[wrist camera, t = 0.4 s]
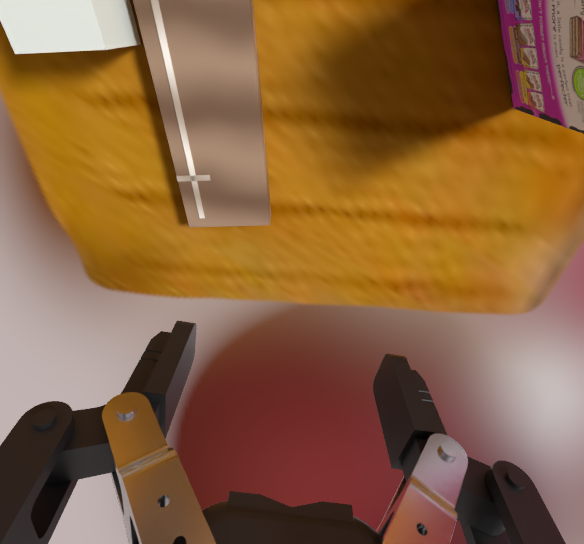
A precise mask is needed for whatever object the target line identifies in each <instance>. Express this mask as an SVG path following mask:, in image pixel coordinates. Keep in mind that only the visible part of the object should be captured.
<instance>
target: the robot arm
mask: <svg viewBox="0 0 584 544" xmlns="http://www.w3.org/2000/svg"><path fill="white" fill-rule="evenodd" d="M195 339H196V324H195V323H189V322H182V321H177V322H176V324H175V326H174V328H173V330H172V332H171V333H169V332H162V331H161V332H160V333H159V334H157V335H156V336H155V337H154V338H152V339H151V341H150V342H149V344H148V346H147V348H146V350H145V352H144V353H143V355H142V357H141V360H140V361H139V363H138V365H137V366H136V368H135V370H134V372H133V373H132V375H131V377H130V379H129V381H128V382H127V384H126V386H125V388H124V390H123V391H122V393H121V394H120V395H117V396H116V397H114V398H112V399H111V400H110V401H109V402H108V403H107V404H106V405H104V406H101V407H97V408H91V409H85V410H77V411H72V409H71V407H70V406H69V405H67V404H66V403H63V402H58V401H52V402H46V403H42V404H40V405H37V406H35V407H33V408H32V409H30V410H29V411H27V412H26V413H25V414H24V415H23V416H22V417H21V418H20V419H19V421H18V422H17V424H16V425H15V426H14V428H13V429H12V430H11V432H10V433H9V435H8V436H7V437H6V439H5V440H4V442H3V443H2V444H1V446H0V544H48V542H49V540H50V538H51V536H52V534H53V532H54V530H55V528H56V525H57V523H58V521H59V519H60V517H61V515H62V513H63V511H64V508H65V506H66V504H67V502H68V500H69V498H70V496H71V494H72V492H73V489H74V488H75V485H76V483H77V481H78V479H82V478H87V477H92V476H97V475H101V474H106V473H111V477H112V480H113V484H114V487H115V491H116V494H117V498H118V501H119V505H120V509H121V512H122V516H123V519H124V524H125V528H126V533H127V538H128V542H129V544H450V541H451V537H452V534H453V531H454V527H455V523H456V520H459V521H460V523H461V526H462V530H463V533H464V536H465V539H466V542H467V544H566V543H565V542H564V540H563V538H562V536H561V534H560V532H559V530H558V528H557V527H556V525H555V523H554V521H553V519H552V517H551V515H550V513H549V511H548V509H547V508H546V506H545V504H544V502H543V500H542V498H541V496H540V494H539V493H538V491H537V489H536V487H535V485H534V483H533V482H532V480H531V479H530V477H529V476H528V475H527V474H526V473H525V472H524V471H523V470H522V469H520V468H519V467H517V466H516V465H514V464H512V463H510V462H507V461H497V462H496V463H494V464H493V466H492V467H490V466H488V465H486V464H483V463H481V462H479V461H476V460H474V459H472V458H470V457H468V456H467V455H466V453H465V451H464V449H463V448H462V447H461V446H460V445H459V443H457V442H456V441H455V440H454V439H452V438H450V437H449V436H447V434H446V432H445V429H444V426H443V424H442V422H441V419H440V417H439V414H438V412H437V410H436V407H435V405H434V403H433V400H432V398H431V395H430V394H429V391H428V388H427V386H426V383H425V381H424V380H423V378H422V377H421V376H420V375H419V374H418V372H416V370H411V369H410V367H409V364H408V362H407V359H406V358H405V357H404V356H398V355H393V354H386V355H385V357H384V358H383V361H382V363H381V365H380V368H379V370H378V372H377V374H376V376H375V379H374V383H373V392H374V397H375V401H376V405H377V409H378V414H379V417H380V422H381V426H382V430H383V434H384V438H385V442H386V447H387V451H388V455H389V459H390V463H391V467H392V468H394V469H401V470H403V473H404V478H403V479H402V481H401V483H400V485H399V487H398V489H397V491H396V493H395V495H394V497H393V499H392V502H391V504H390V506H389V508H388V510H387V512H386V514H385V516H384V518H383V520H382V522H381V524H380V525H379V527H378V529H377V531H375V530H373V529H372V528H371V527H370V526H369V525H367V524H366V523H365V522H363V521H361V520H360V519H358V518H356V517H354V516H353V512H352V505H347V504H339V503H329V502H318V503H313V504H308V505H302V506H297V507H289V506H287V505H284V504H282V503H279V502H277V501H274V500H272V499H270V498H267V497H265V496H262V495H260V494H251V493H242V492H233V491H230V492H229V498H228V501H224V502H220V503H217V504H214V505H212V506H210V507H208V508H205V509H204V510H201V508H200V506H199V503H198V501H197V499H196V496H195V495H194V492H193V490H192V487H191V485H190V483H189V481H188V478H187V476H186V474H185V471H184V469H183V467H182V464H181V462H180V460H179V458H178V455H177V453H176V452H175V450H174V449H173V448H171V449H170V448H169V446H168V445H167V442H166V440H165V439H166V436H167V433H168V430H169V428H170V425H171V422H172V419H173V416H174V413H175V411H176V408H177V405H178V402H179V399H180V397H181V394H182V391H183V388H184V386H185V383H186V380H187V377H188V375H189V372H190V369H191V366H192V363H193V359H194V353H195Z"/></svg>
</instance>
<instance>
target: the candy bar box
mask: <svg viewBox="0 0 584 544" xmlns="http://www.w3.org/2000/svg"><path fill="white" fill-rule="evenodd" d="M496 1H497V6H498V13H499V19H500V25H501V31H502V37H503V44H504V50H505V57H506V63H507V69H508V76H509V82H510V89H511V95H512V102H513V108H514V109H516V110H520V111H522V112H525V113H528V114H530V115H533V116H535V117H538V118H541V119H544V120H547V121H550V122H552V123H555V124H558V125H561V126H563V127H566V128H569V129H572V130H575V131H578V132H581V133H583V134H584V0H496Z"/></svg>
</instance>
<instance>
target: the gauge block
mask: <svg viewBox="0 0 584 544" xmlns="http://www.w3.org/2000/svg"><path fill="white" fill-rule="evenodd" d="M0 21H1V23H2V26H3V28H4V30H5V32H6V35H7V37H8V39H9V41H10V44H11V46H12V48H13V50H14V53H15V54H29V53H50V52H70V51H91V50H108V49H115V48H121V47H128V46H135V45H141V42H140V38H139V34H138V30H137V26H136V22H135V18H134V14H133V10H132V6H131V2H130V0H0Z"/></svg>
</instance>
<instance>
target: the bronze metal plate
mask: <svg viewBox="0 0 584 544" xmlns="http://www.w3.org/2000/svg"><path fill="white" fill-rule="evenodd" d="M133 3H134V7H135V11H136V15H137V19H138V23H139V27H140V31H141V35H142V39H143V43H144V47H145V51H146V55H147V59H148V63H149V67H150V71H151V75H152V79H153V83H154V87H155V91H156V95H157V99H158V103H159V107H160V111H161V115H162V119H163V123H164V127H165V131H166V135H167V139H168V143H169V147H170V151H171V155H172V159H173V163H174V167H175V171H176V175H177V176H176V177H177V181H178V184H179V188H180V192H181V196H182V200H183V204H184V208H185V212H186V216H187V220H188V224H189V227H218V226H254V225H270V221H271V207H270V196H269V184H268V172H267V161H266V149H265V137H264V126H263V114H262V102H261V91H260V79H259V67H258V55H257V44H256V32H255V20H254V9H253V0H133Z"/></svg>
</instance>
